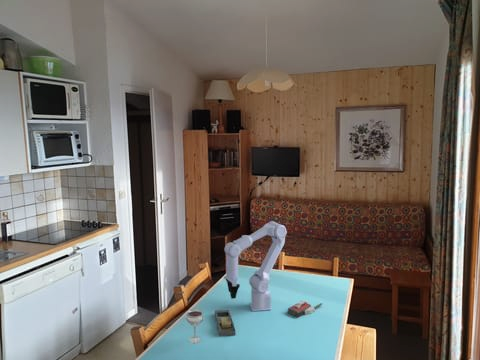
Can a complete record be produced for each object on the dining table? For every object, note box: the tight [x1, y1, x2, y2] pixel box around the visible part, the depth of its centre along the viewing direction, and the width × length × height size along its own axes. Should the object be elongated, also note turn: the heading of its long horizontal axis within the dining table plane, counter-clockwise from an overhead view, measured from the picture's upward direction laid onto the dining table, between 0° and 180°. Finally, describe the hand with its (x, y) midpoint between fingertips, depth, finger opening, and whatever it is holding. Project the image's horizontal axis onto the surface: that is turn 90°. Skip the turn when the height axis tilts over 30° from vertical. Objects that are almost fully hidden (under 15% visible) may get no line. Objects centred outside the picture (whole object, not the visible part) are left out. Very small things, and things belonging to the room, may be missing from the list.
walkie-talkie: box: [287, 300, 323, 318], centre depth 186 cm, size 9×4×20 cm
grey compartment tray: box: [214, 309, 236, 337], centre depth 172 cm, size 7×20×2 cm, turn 10°
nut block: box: [220, 316, 231, 329], centre depth 167 cm, size 4×4×5 cm
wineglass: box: [186, 308, 204, 344], centre depth 158 cm, size 7×7×12 cm
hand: (232, 294), depth 182 cm, fingers open, 7 cm apart
